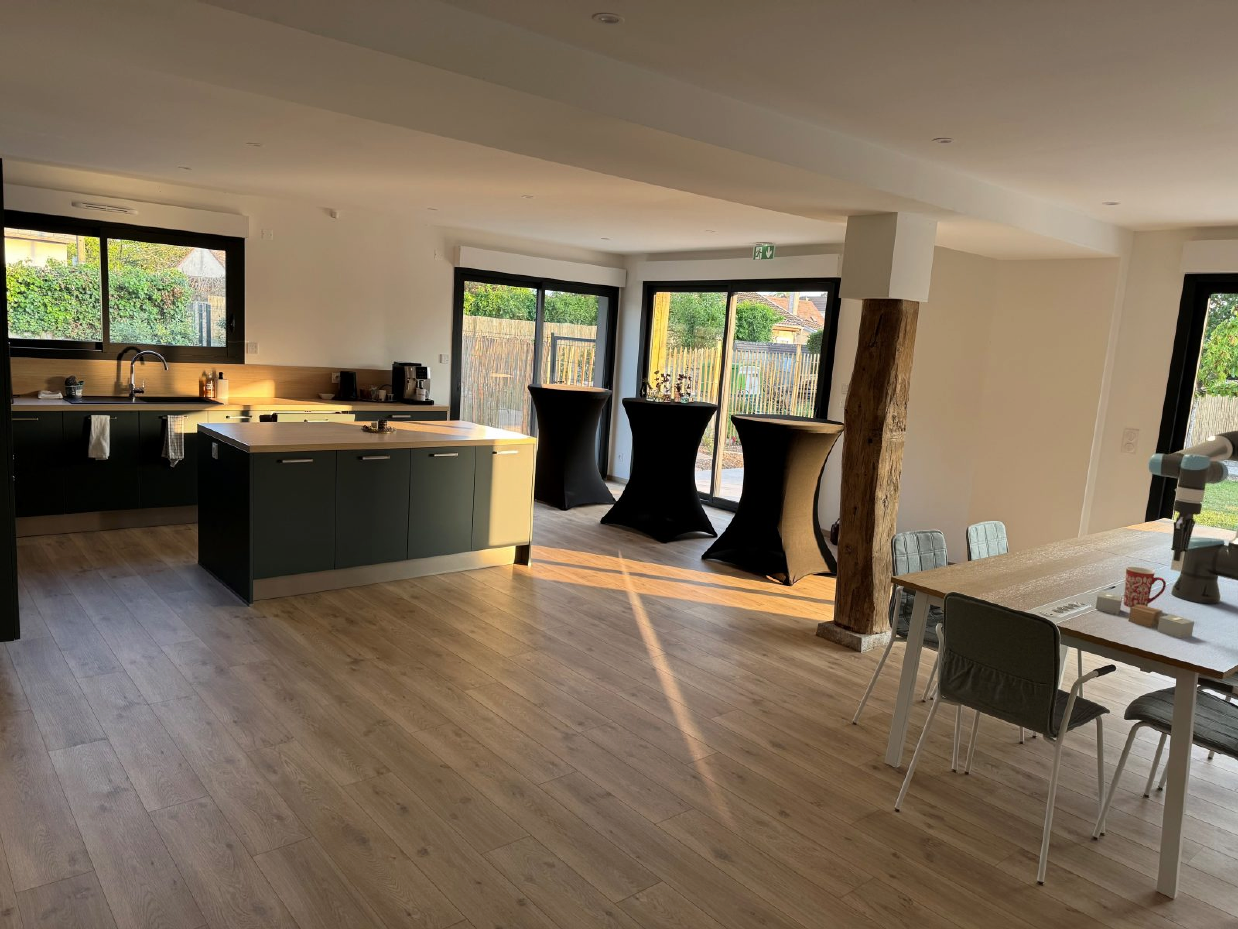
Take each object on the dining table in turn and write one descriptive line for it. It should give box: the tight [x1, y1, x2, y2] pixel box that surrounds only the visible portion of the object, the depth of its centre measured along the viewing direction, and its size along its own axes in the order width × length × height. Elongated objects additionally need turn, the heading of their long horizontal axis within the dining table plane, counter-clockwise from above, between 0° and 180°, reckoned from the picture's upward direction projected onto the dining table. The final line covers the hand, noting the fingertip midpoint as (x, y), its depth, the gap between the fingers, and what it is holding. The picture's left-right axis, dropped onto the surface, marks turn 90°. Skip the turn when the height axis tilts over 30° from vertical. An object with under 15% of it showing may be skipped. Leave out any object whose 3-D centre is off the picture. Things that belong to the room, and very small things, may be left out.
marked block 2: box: [1156, 614, 1195, 639], centre depth 268 cm, size 7×7×5 cm
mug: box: [1123, 566, 1167, 608], centre depth 295 cm, size 13×9×14 cm
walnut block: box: [1128, 604, 1163, 628], centre depth 278 cm, size 7×7×5 cm
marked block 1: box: [1095, 591, 1123, 615], centre depth 290 cm, size 7×7×5 cm
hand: (1175, 570), depth 276 cm, fingers closed
